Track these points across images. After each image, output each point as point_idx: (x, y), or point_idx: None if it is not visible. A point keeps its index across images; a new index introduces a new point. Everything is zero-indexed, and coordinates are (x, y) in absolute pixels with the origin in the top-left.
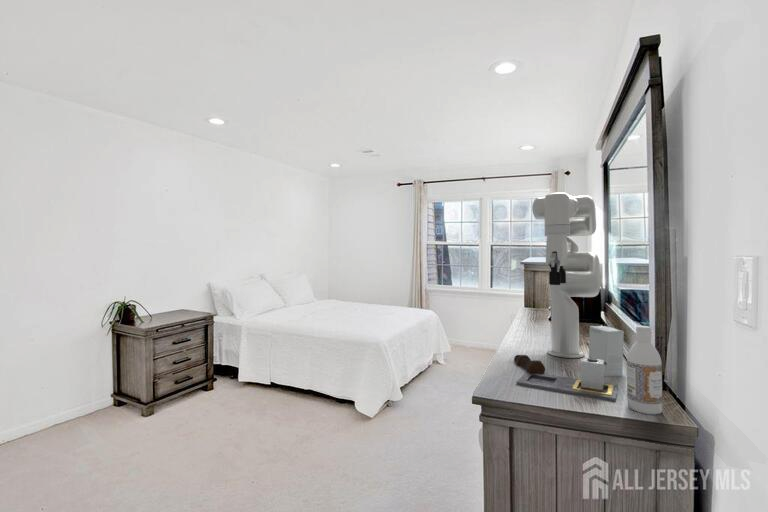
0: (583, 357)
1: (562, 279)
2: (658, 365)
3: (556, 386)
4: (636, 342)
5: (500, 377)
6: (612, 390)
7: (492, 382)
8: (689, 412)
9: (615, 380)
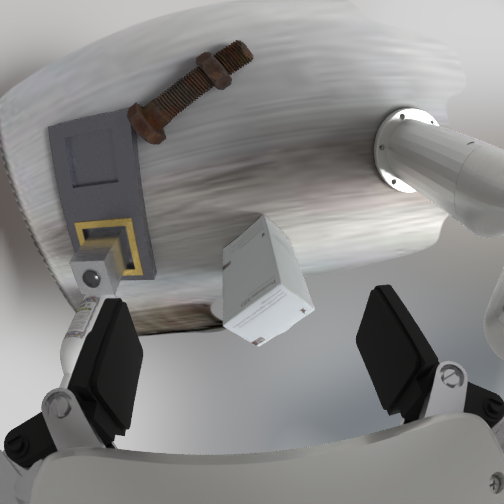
0: (104, 261)
1: (369, 347)
2: None
3: (70, 196)
4: (65, 370)
5: (99, 63)
6: None
7: (60, 71)
8: None
9: None
